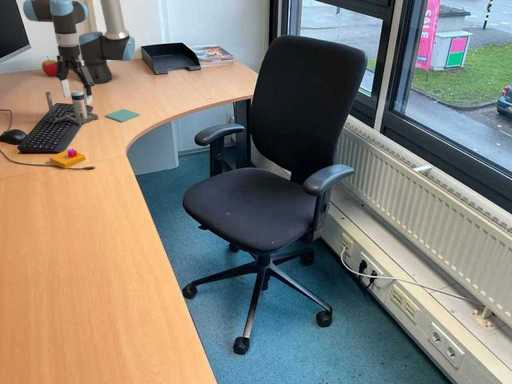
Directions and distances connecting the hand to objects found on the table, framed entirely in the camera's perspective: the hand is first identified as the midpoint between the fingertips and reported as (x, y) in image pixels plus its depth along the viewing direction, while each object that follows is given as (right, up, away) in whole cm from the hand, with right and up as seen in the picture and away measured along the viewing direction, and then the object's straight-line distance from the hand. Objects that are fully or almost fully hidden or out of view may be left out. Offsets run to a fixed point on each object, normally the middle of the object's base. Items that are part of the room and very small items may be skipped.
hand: (78, 99), depth 167 cm
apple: (-36, +25, +54) cm, 69 cm away
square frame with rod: (-4, -8, +4) cm, 9 cm away
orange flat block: (+8, -27, -26) cm, 38 cm away
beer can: (0, -7, +5) cm, 9 cm away
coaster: (+15, -5, +10) cm, 18 cm away
